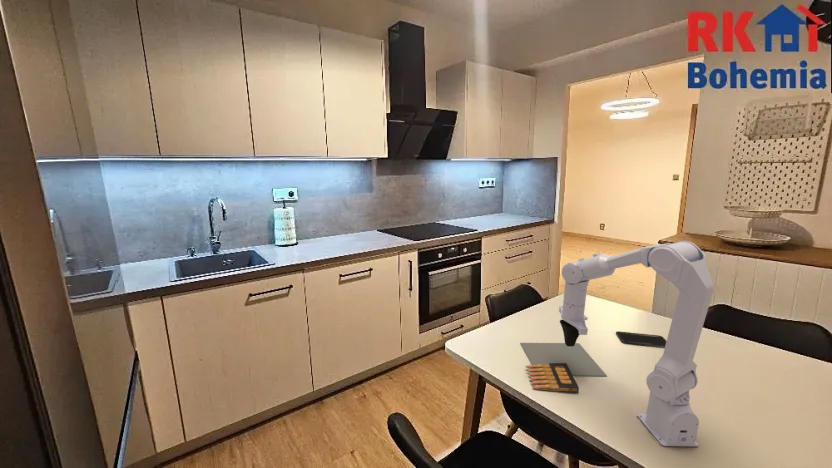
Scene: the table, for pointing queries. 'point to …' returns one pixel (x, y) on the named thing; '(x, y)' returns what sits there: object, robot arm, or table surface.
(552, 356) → the mat
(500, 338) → the table surface
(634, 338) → the phone
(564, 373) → the ammunition clip
